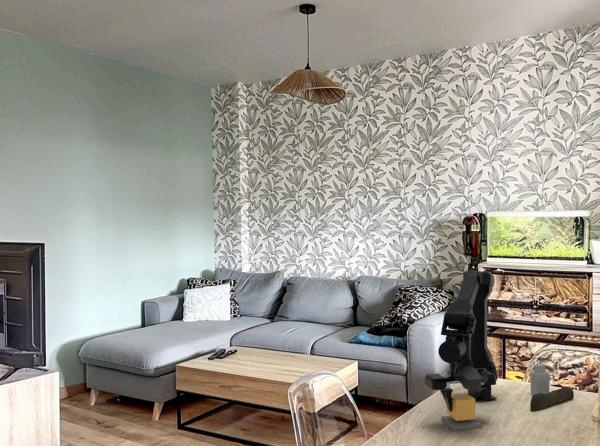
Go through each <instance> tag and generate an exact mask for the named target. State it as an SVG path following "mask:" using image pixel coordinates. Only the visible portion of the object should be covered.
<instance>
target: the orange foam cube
mask: <svg viewBox="0 0 600 446" xmlns="http://www.w3.org/2000/svg"><path fill="white" fill-rule="evenodd" d="M451 397H452V412H450V411H449V410H448V407H447V406H446V414H447V416H448V415H450V416H451V417H452V418H453V419H455V420H456V421H460V420H470V419H475V420H476V402H475V399H474V398H473V397H471V396H470V395H468V392H455V393H454V392H452V394H451Z"/></svg>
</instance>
